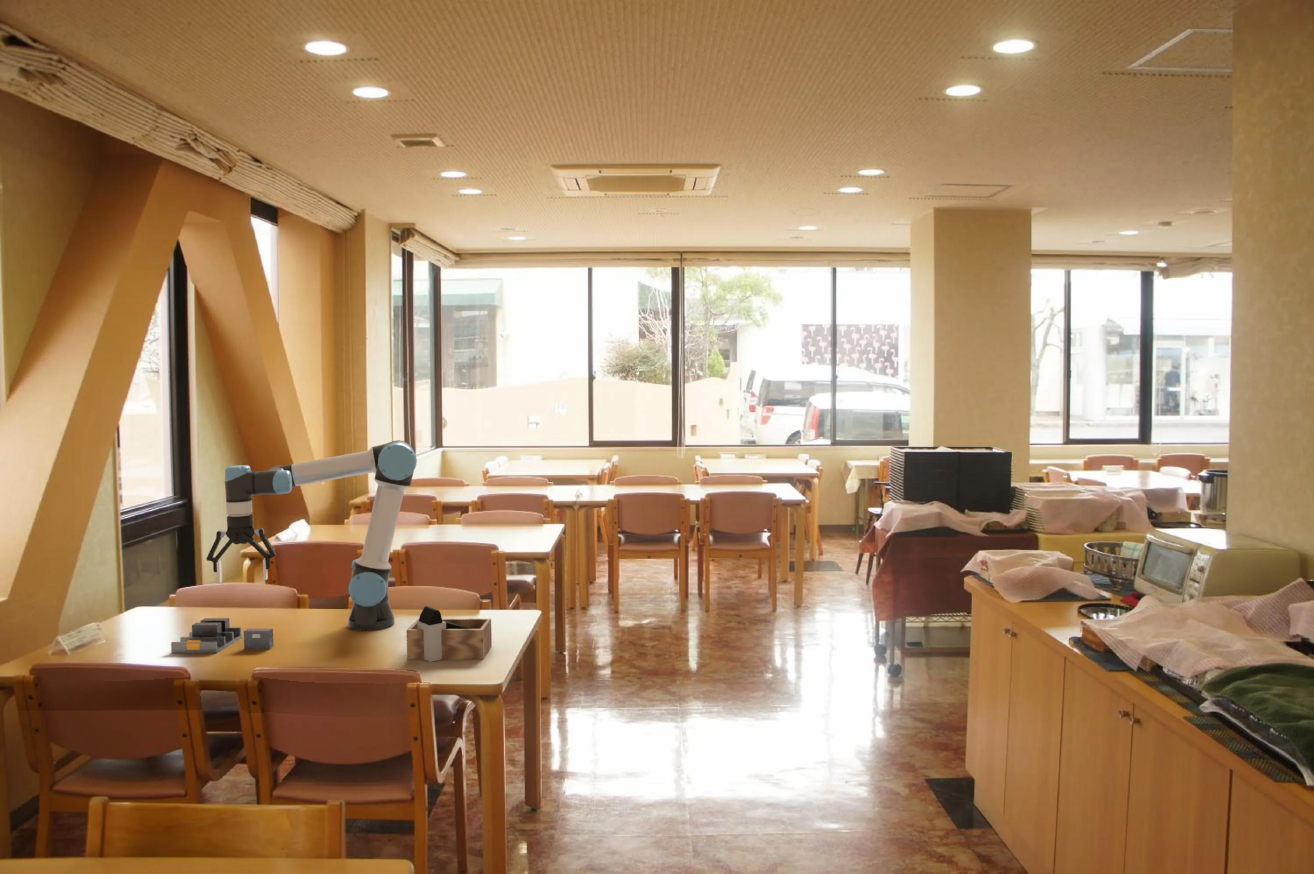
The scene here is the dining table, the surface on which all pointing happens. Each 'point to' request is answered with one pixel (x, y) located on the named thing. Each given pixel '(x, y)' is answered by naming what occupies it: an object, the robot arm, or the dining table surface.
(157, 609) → the dining table surface
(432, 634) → the decorative object
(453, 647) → the open wooden box
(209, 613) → the dining table surface
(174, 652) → the rack
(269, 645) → the gray labeled box
